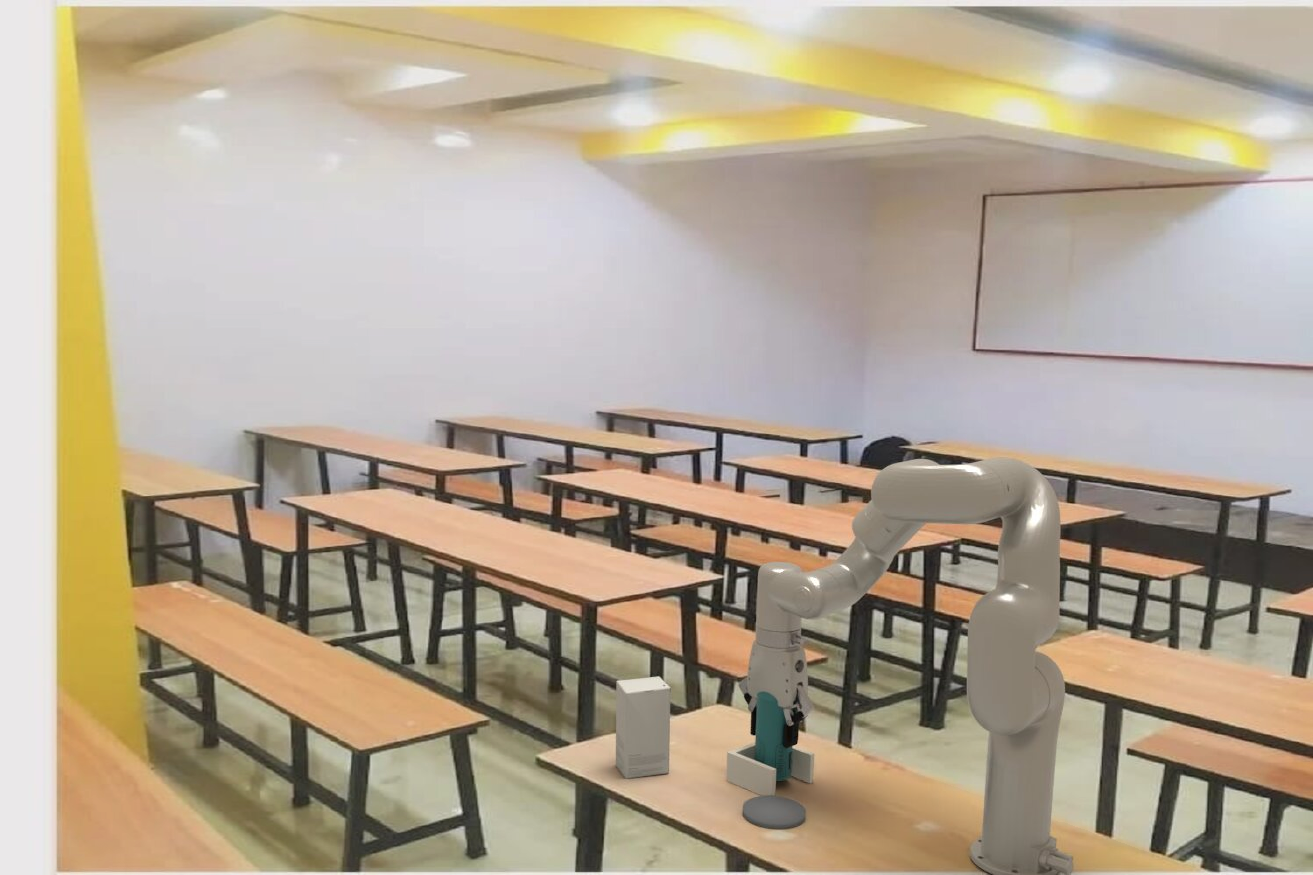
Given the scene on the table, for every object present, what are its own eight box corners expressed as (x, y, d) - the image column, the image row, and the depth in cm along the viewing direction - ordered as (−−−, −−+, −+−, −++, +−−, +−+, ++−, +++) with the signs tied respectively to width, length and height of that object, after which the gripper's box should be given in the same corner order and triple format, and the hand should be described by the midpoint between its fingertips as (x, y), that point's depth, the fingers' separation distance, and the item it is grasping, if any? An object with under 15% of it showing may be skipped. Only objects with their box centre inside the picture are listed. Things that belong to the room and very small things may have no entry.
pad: (818, 816, 185) (818, 810, 185) (777, 834, 178) (777, 828, 178) (770, 795, 192) (770, 790, 192) (729, 813, 185) (729, 807, 185)
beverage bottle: (793, 790, 195) (798, 674, 192) (753, 789, 195) (758, 673, 192) (789, 774, 201) (794, 662, 199) (751, 773, 201) (755, 661, 199)
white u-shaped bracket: (813, 781, 199) (814, 753, 198) (771, 799, 191) (772, 770, 190) (768, 763, 206) (769, 736, 205) (726, 780, 198) (727, 752, 198)
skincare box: (658, 760, 206) (661, 675, 204) (670, 775, 200) (673, 687, 198) (613, 765, 203) (615, 678, 201) (623, 780, 197) (626, 691, 195)
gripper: (833, 644, 191) (828, 749, 194) (753, 621, 204) (750, 720, 206) (804, 653, 186) (799, 760, 188) (724, 629, 199) (721, 730, 201)
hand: (773, 738), depth 197 cm, fingers closed on beverage bottle, 6 cm apart
